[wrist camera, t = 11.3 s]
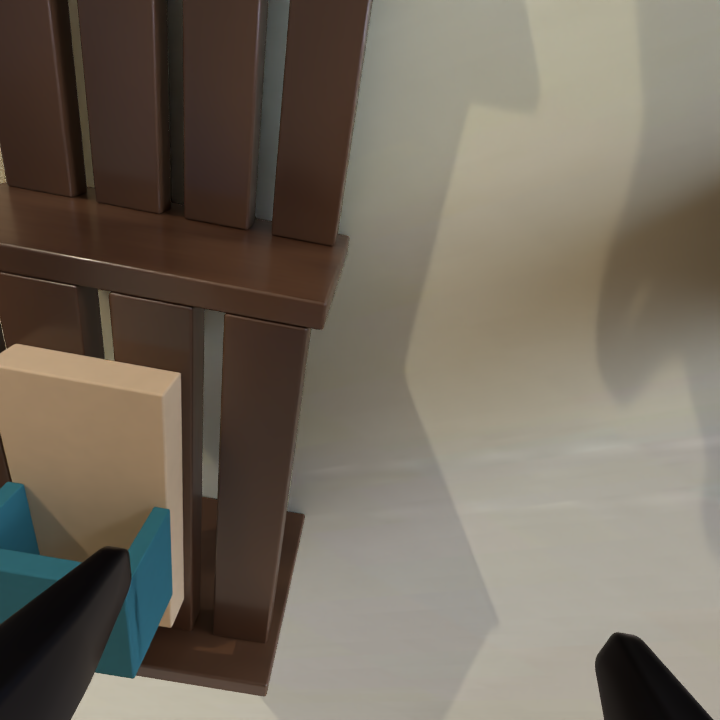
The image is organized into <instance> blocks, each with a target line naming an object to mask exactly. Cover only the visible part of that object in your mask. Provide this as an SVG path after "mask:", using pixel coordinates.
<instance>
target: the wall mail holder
mask: <svg viewBox="0 0 720 720" xmlns="http://www.w3.org/2000/svg"><path fill="white" fill-rule="evenodd" d="M0 434H1V438H2V442H3V446H4V450H5V454H6V459H7V463H8V467H9V471H10V475H11V479H12V482H6V483H5V484H4V485H3V486H2V487H1V488H0V624H1V623H2V622H4V621H5V620H6V619H8V618H9V617H10V616H12V615H13V614H14V613H16V612H17V611H18V610H20V609H21V608H22V607H24V606H25V605H26V604H28V603H29V602H30V601H32V600H33V599H34V598H36V597H37V596H38V595H40V594H41V593H42V592H44V591H45V590H46V589H47V588H49V587H50V586H51V585H53V584H54V583H55V582H57V581H58V580H59V579H61V578H62V577H63V576H65V575H66V574H67V573H69V572H70V571H71V570H73V569H74V568H75V567H77V566H78V565H79V564H81V563H82V562H83V561H85V560H86V559H87V558H89V557H90V556H91V555H92V554H94V553H95V552H96V551H98V550H99V549H101V548H102V547H105V546H113V547H119V548H125V549H127V550H128V551H129V555H130V566H131V585H130V588H129V591H128V594H127V596H126V599H125V601H124V603H123V606H122V608H121V611H120V613H119V615H118V618H117V620H116V623H115V625H114V627H113V630H112V632H111V635H110V637H109V639H108V642H107V644H106V647H105V649H104V651H103V654H102V656H101V659H100V661H99V663H98V666H97V668H96V670H95V672H96V673H102V674H108V675H114V676H120V677H126V678H134V677H135V676H136V674H137V672H138V669H139V667H140V665H141V663H142V661H143V659H144V657H145V654H146V652H147V650H148V648H149V646H150V643H151V641H152V639H153V637H154V635H155V632H156V630H157V628H158V626H162V627H168V628H171V627H172V626H173V623H174V621H175V619H176V616H177V614H178V612H179V609H180V607H181V605H182V602H183V600H184V559H183V487H182V414H181V373H178V372H172V371H167V370H161V369H156V368H150V367H145V366H139V365H133V364H128V363H122V362H117V361H111V360H105V359H100V358H94V357H89V356H83V355H77V354H72V353H66V352H61V351H55V350H49V349H44V348H38V347H33V346H27V345H21V344H14V345H12V346H11V347H9V348H8V349H6V350H4V351H3V352H1V353H0Z"/></svg>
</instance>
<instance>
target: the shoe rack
mask: <svg viewBox="0 0 720 720" xmlns="http://www.w3.org/2000/svg"><path fill="white" fill-rule="evenodd" d="M372 1H373V0H290V7H289V19H288V32H287V44H286V56H285V69H284V81H283V93H282V106H281V118H280V130H279V143H278V155H277V167H276V180H275V192H274V204H273V217H272V221H267V220H262V219H256V218H255V205H256V189H257V173H258V158H259V142H260V126H261V110H262V94H263V79H264V63H265V47H266V31H267V15H268V0H183V102H184V205H182V204H177V203H172V202H171V176H170V126H169V75H168V24H167V0H77V3H78V14H79V24H80V35H81V46H82V57H83V67H84V78H85V89H86V99H87V110H88V121H89V132H90V142H91V153H92V164H93V174H94V185H95V188H92V187H87V185H86V175H85V165H84V155H83V145H82V135H81V125H80V116H79V106H78V96H77V86H76V76H75V66H74V56H73V46H72V36H71V27H70V17H69V7H68V0H0V147H1V152H2V158H3V164H4V169H5V175H6V181H7V182H6V183H1V184H0V319H1V323H0V353H1V352H3V351H4V350H6V347H7V349H8V348H9V347H11V346H12V345H14V344H21V345H27V346H33V347H38V348H44V349H49V350H55V351H61V352H66V353H72V354H77V355H83V356H89V357H94V358H100V359H105V357H104V347H103V337H102V327H101V317H100V307H99V297H98V289H100V290H106V291H111V292H110V293H109V303H110V314H111V326H112V337H113V348H114V359H115V361H117V362H122V363H128V364H133V365H139V366H145V367H150V368H156V369H161V370H167V371H172V372H178V373H181V414H182V487H183V559H184V600H183V602H182V605H181V607H180V609H179V612H178V614H177V616H176V619H175V621H174V623H173V626H172V627H171V628H168V627H162V626H158V628H157V630H156V632H155V635H154V637H153V639H152V641H151V643H150V646H149V648H148V650H147V652H146V654H145V657H144V659H143V661H142V663H141V665H140V667H139V669H138V672H137V674H136V676H142V677H149V678H155V679H161V680H167V681H173V682H179V683H185V684H191V685H197V686H203V687H210V688H216V689H222V690H228V691H234V692H240V693H246V694H252V695H258V696H266V694H267V690H268V686H269V681H270V676H271V672H272V667H273V663H274V658H275V653H276V649H277V644H278V640H279V635H280V630H281V626H282V621H283V617H284V612H285V607H286V603H287V598H288V594H289V589H290V584H291V580H292V575H293V571H294V566H295V561H296V557H297V552H298V548H299V543H300V538H301V534H302V529H303V524H304V518H305V515H304V514H300V513H294V512H288V511H287V505H288V498H289V490H290V483H291V475H292V468H293V461H294V453H295V446H296V438H297V431H298V423H299V416H300V409H301V401H302V394H303V386H304V379H305V371H306V364H307V357H308V349H309V342H310V334H311V328H313V329H318V330H322V329H323V328H324V325H325V322H326V319H327V316H328V313H329V310H330V307H331V303H332V300H333V297H334V294H335V291H336V288H337V285H338V281H339V278H340V275H341V272H342V269H343V266H344V262H345V259H346V256H347V252H348V246H349V240H350V238H349V236H346V235H341V234H338V230H339V223H340V216H341V209H342V203H343V196H344V189H345V183H346V176H347V169H348V162H349V156H350V149H351V142H352V135H353V129H354V122H355V115H356V109H357V102H358V95H359V88H360V82H361V75H362V68H363V61H364V55H365V48H366V41H367V35H368V28H369V21H370V14H371V8H372ZM205 309H209V310H215V311H220V312H225V315H224V337H223V364H222V392H221V419H220V446H219V473H218V499H213V498H207V497H202V450H203V382H204V314H205ZM1 324H2V328H1ZM2 329H3V333H4V337H3V333H2ZM4 338H5V342H4ZM5 343H6V347H5ZM6 482H12V479H11V475H10V471H9V467H8V463H7V459H6V454H5V450H4V446H3V442H2V438H1V434H0V488H1V487H2V486H3V485H4V484H5V483H6Z"/></svg>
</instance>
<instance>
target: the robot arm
mask: <svg viewBox="0 0 720 720" xmlns="http://www.w3.org/2000/svg"><path fill="white" fill-rule="evenodd" d="M130 585H131V566H130V555H129V551H128V550H127V549H125V548H119V547H113V546H105V547H102V548H101V549H99V550H98V551H96V552H95V553H94V554H92V555H91V556H90V557H89V558H87V559H86V560H85V561H83V562H82V563H81V564H79V565H78V566H77V567H75V568H74V569H73V570H71V571H70V572H69V573H67V574H66V575H65V576H63V577H62V578H61V579H59V580H58V581H57V582H55V583H54V584H53V585H51V586H50V587H49V588H47V589H46V590H45V591H44V592H42V593H41V594H40V595H38V596H37V597H36V598H34V599H33V600H32V601H30V602H29V603H28V604H26V605H25V606H24V607H22V608H21V609H20V610H18V611H17V612H16V613H14V614H13V615H12V616H10V617H9V618H8V619H6V620H5V621H4V622H2V623H1V624H0V720H71V718H72V716H73V714H74V712H75V711H76V709H77V707H78V705H79V703H80V701H81V699H82V697H83V696H84V694H85V692H86V690H87V688H88V686H89V684H90V682H91V679H92V677H93V675H94V673H95V670H96V668H97V666H98V663H99V661H100V659H101V656H102V654H103V651H104V649H105V647H106V644H107V642H108V639H109V637H110V635H111V632H112V630H113V627H114V625H115V623H116V620H117V618H118V615H119V613H120V611H121V608H122V606H123V603H124V601H125V599H126V596H127V594H128V591H129V588H130ZM595 670H596V676H597V682H598V687H599V693H600V699H601V704H602V710H603V715H604V720H713V719H712V718H711V717H710V715H709V714H708V713H707V712H706V711H705V710H704V709H703V708H702V706H701V705H700V704H699V703H698V702H697V701H696V700H695V699H694V697H693V696H692V695H691V694H690V693H689V692H688V691H687V690H686V688H685V687H684V686H683V685H682V684H681V683H680V682H679V681H678V680H677V678H676V677H675V676H674V675H673V674H672V673H671V672H670V671H669V669H668V668H667V667H666V666H665V665H664V664H663V663H662V662H661V660H660V659H659V658H658V657H657V656H656V655H655V654H654V653H653V651H652V650H651V649H650V648H649V647H648V646H647V645H646V644H645V642H644V641H643V640H641V639H640V638H639V637H637V636H635V635H631V634H625V633H619V632H616V633H614V634H612V635H611V637H610V638H609V639H608V641H607V642H606V643H605V645H604V646H603V648H602V649H601V650H600V652H599V653H598V655H597V657H596V661H595Z"/></svg>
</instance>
